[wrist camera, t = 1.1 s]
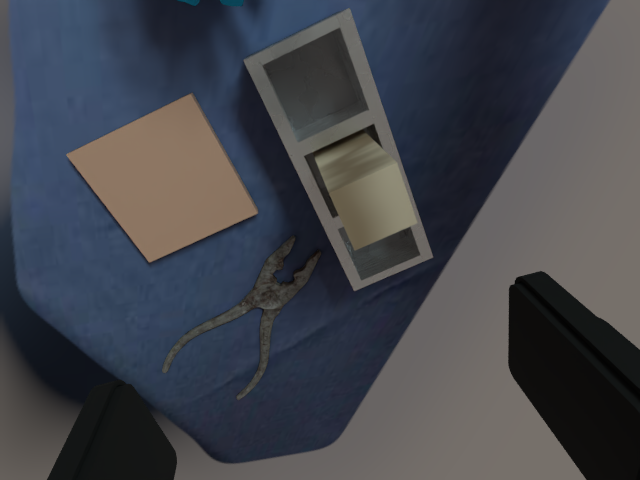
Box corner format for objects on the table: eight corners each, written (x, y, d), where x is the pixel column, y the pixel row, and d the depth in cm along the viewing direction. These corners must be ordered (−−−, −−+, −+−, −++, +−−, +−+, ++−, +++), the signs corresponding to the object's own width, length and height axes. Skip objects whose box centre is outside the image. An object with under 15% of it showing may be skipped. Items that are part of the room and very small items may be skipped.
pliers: (156, 385, 39) (216, 212, 32) (158, 378, 40) (217, 208, 33) (249, 403, 42) (325, 248, 35) (250, 397, 43) (324, 244, 35)
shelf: (338, 11, 27) (349, 7, 23) (416, 235, 36) (433, 257, 32) (246, 57, 27) (243, 60, 24) (345, 266, 36) (354, 291, 33)
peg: (358, 125, 30) (396, 162, 21) (375, 171, 32) (417, 223, 23) (310, 147, 30) (328, 193, 22) (330, 191, 32) (354, 250, 23)
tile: (192, 92, 28) (190, 93, 27) (258, 209, 33) (257, 213, 32) (71, 151, 29) (65, 154, 28) (151, 257, 33) (149, 262, 33)
